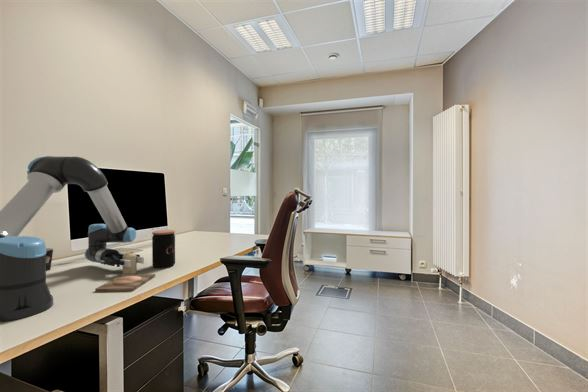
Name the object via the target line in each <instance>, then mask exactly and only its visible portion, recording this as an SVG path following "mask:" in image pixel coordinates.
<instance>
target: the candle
mask: <svg viewBox="0 0 588 392" xmlns="http://www.w3.org/2000/svg"><path fill="white" fill-rule="evenodd" d="M124 254H125V255H123V259H125V260H130V261H131V267H127V266H122V275H123V274H138V273H137V272H138V271H137V265H138V263H137V255H138V254H137V255H136V253H135V251H130V252H128V251H126V253H124Z"/></svg>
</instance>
